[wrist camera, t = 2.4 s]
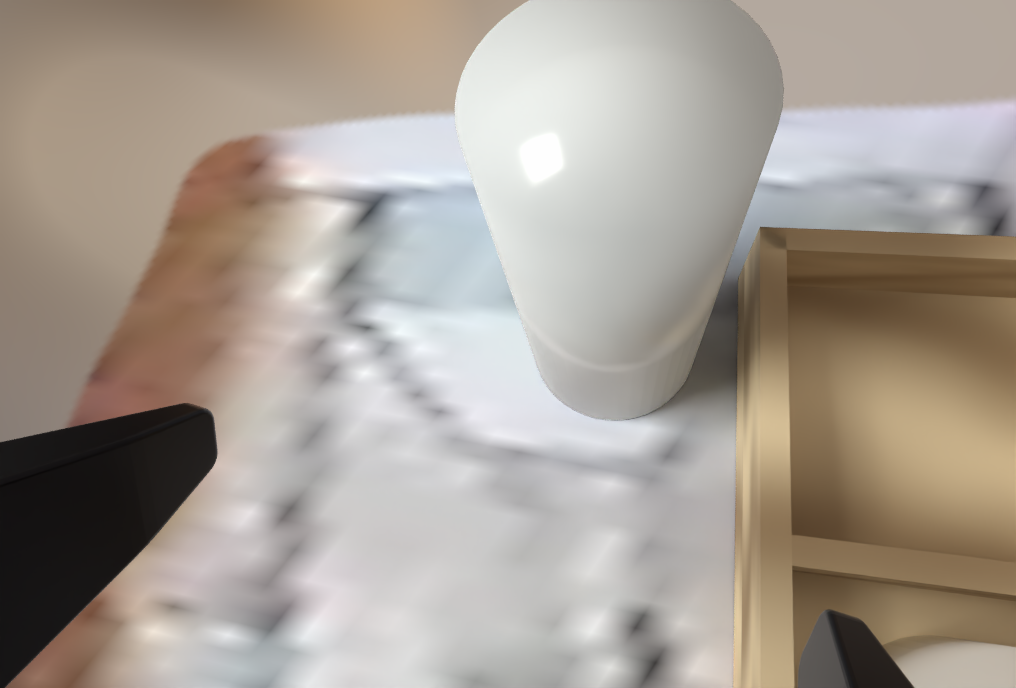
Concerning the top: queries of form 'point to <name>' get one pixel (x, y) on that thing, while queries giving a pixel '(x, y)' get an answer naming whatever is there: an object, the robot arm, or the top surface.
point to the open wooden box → (873, 441)
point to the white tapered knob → (617, 180)
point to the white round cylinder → (953, 662)
